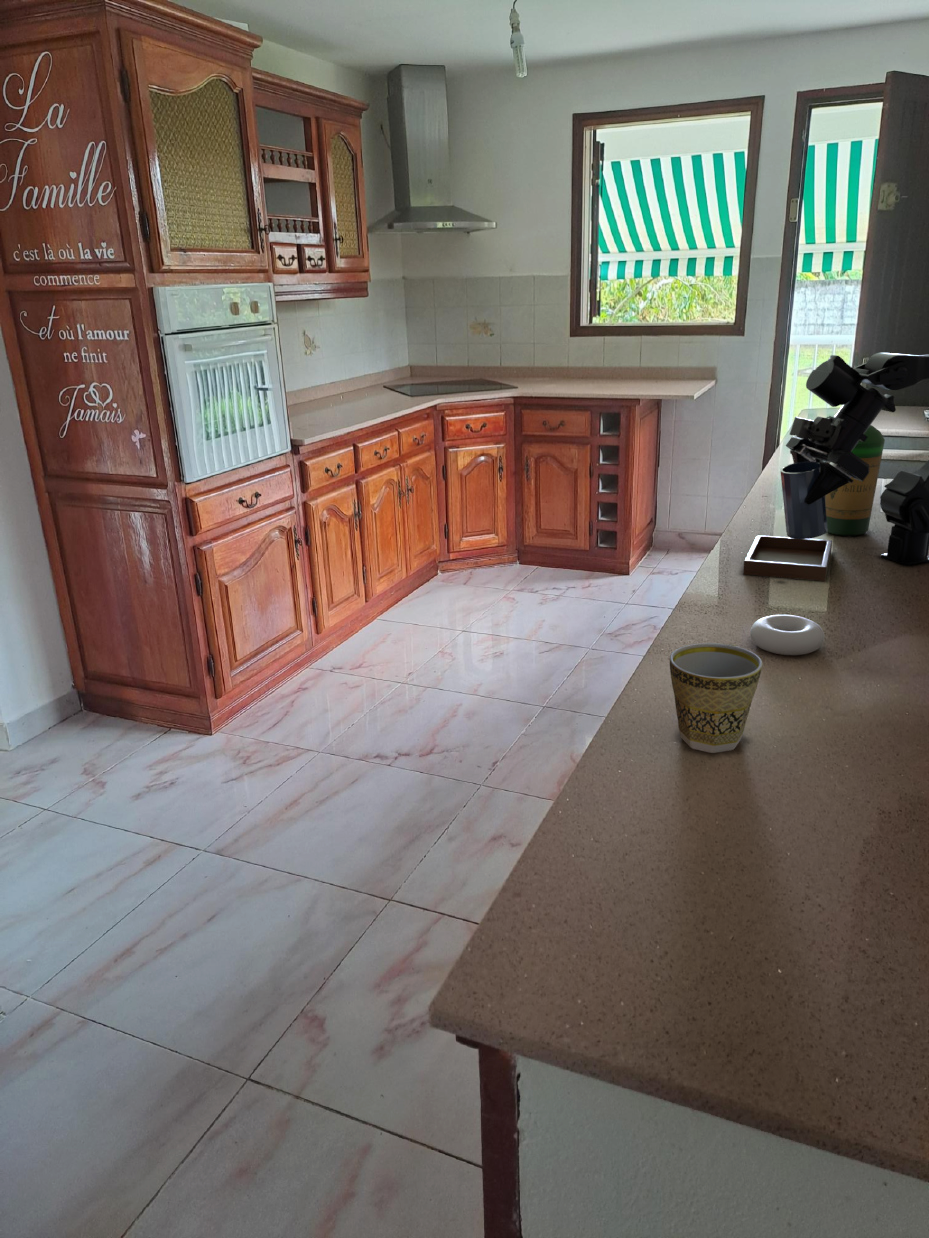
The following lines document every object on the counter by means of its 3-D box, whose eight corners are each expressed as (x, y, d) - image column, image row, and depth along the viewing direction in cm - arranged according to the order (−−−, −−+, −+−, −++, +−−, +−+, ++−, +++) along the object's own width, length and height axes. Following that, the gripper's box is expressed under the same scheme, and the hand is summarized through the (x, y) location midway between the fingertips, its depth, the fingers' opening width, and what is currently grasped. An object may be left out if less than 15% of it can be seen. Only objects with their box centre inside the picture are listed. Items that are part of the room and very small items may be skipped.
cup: (827, 523, 158) (821, 459, 154) (828, 536, 152) (822, 470, 148) (786, 528, 161) (780, 464, 156) (786, 541, 155) (780, 475, 151)
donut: (824, 662, 120) (822, 635, 129) (826, 639, 119) (824, 613, 128) (747, 656, 124) (750, 629, 132) (749, 633, 122) (752, 608, 131)
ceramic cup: (741, 768, 95) (748, 684, 92) (653, 747, 100) (656, 667, 97) (772, 719, 105) (779, 642, 102) (690, 703, 110) (694, 629, 107)
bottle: (816, 536, 177) (830, 394, 167) (817, 523, 186) (831, 388, 177) (873, 540, 173) (892, 394, 164) (872, 526, 183) (889, 388, 173)
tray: (756, 548, 172) (757, 535, 171) (830, 553, 166) (832, 540, 166) (743, 574, 157) (744, 560, 156) (824, 581, 152) (826, 567, 151)
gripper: (791, 390, 157) (739, 466, 161) (847, 402, 140) (787, 486, 143) (836, 423, 160) (784, 496, 164) (896, 438, 143) (836, 520, 146)
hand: (796, 498), depth 154 cm, fingers closed on cup, 7 cm apart
